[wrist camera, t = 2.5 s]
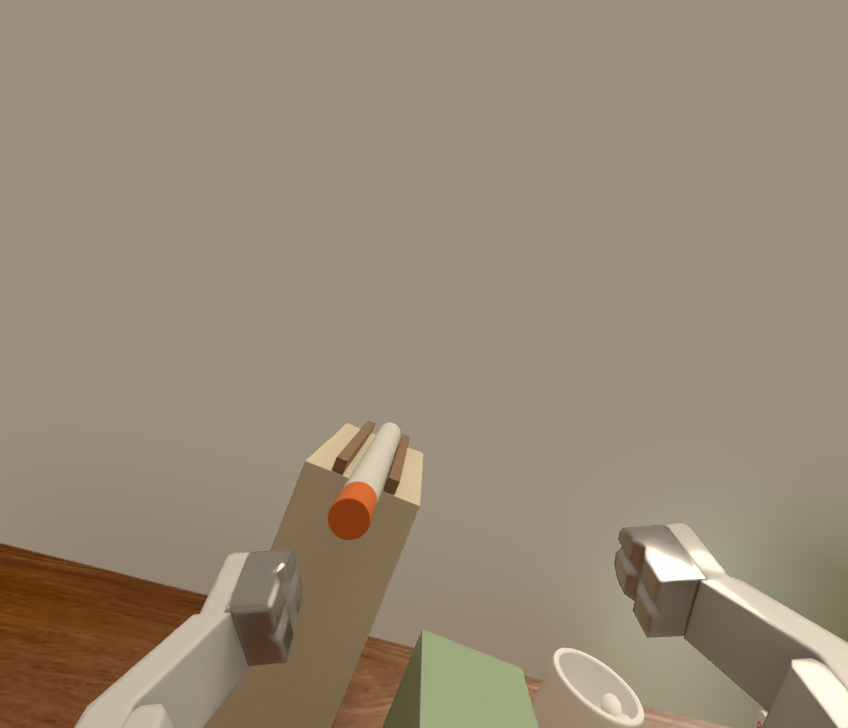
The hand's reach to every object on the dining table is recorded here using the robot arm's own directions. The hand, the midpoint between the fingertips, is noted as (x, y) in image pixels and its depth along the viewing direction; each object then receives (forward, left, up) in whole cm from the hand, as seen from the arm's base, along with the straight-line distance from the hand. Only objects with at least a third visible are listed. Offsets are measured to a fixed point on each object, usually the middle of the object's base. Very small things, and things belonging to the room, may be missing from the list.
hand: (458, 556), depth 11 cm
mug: (+28, +33, -31) cm, 53 cm away
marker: (-3, +19, -5) cm, 20 cm away
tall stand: (-3, +24, -31) cm, 39 cm away
